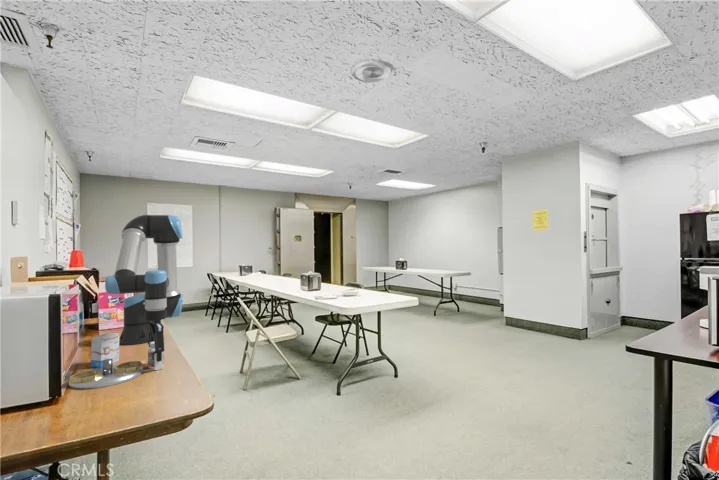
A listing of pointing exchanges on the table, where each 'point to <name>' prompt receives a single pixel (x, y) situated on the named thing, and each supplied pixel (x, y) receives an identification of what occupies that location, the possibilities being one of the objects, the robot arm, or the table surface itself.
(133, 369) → the carrier
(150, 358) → the pill bottle
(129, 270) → the robot arm
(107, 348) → the ink box
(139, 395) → the table surface
